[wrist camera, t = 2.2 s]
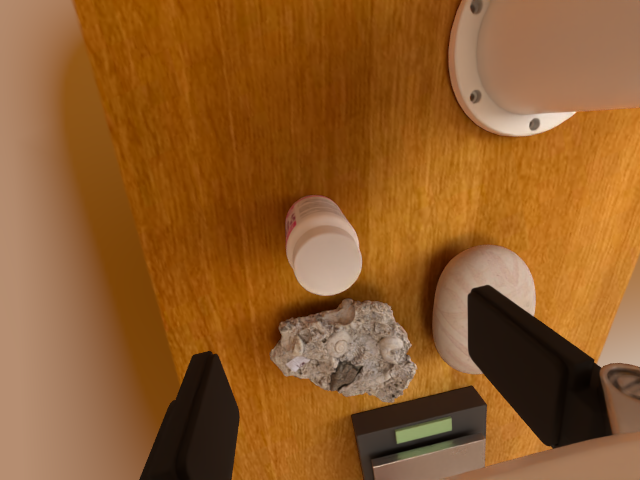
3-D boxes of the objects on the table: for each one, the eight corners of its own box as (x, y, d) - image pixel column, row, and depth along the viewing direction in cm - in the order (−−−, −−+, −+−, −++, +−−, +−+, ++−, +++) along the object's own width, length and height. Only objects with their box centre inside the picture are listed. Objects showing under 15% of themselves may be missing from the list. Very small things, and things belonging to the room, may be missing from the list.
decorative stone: (495, 346, 32) (532, 383, 27) (414, 354, 31) (438, 394, 26) (520, 232, 28) (569, 253, 23) (427, 238, 27) (458, 261, 22)
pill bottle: (279, 200, 24) (278, 234, 16) (337, 188, 24) (364, 217, 16) (291, 254, 26) (295, 309, 18) (345, 243, 26) (373, 292, 18)
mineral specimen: (377, 374, 32) (264, 376, 29) (401, 283, 29) (277, 276, 26) (402, 423, 27) (266, 432, 24) (435, 317, 24) (282, 313, 21)
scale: (351, 414, 33) (357, 438, 30) (472, 385, 34) (488, 406, 31) (367, 498, 38) (373, 524, 36) (471, 471, 39) (485, 495, 36)
